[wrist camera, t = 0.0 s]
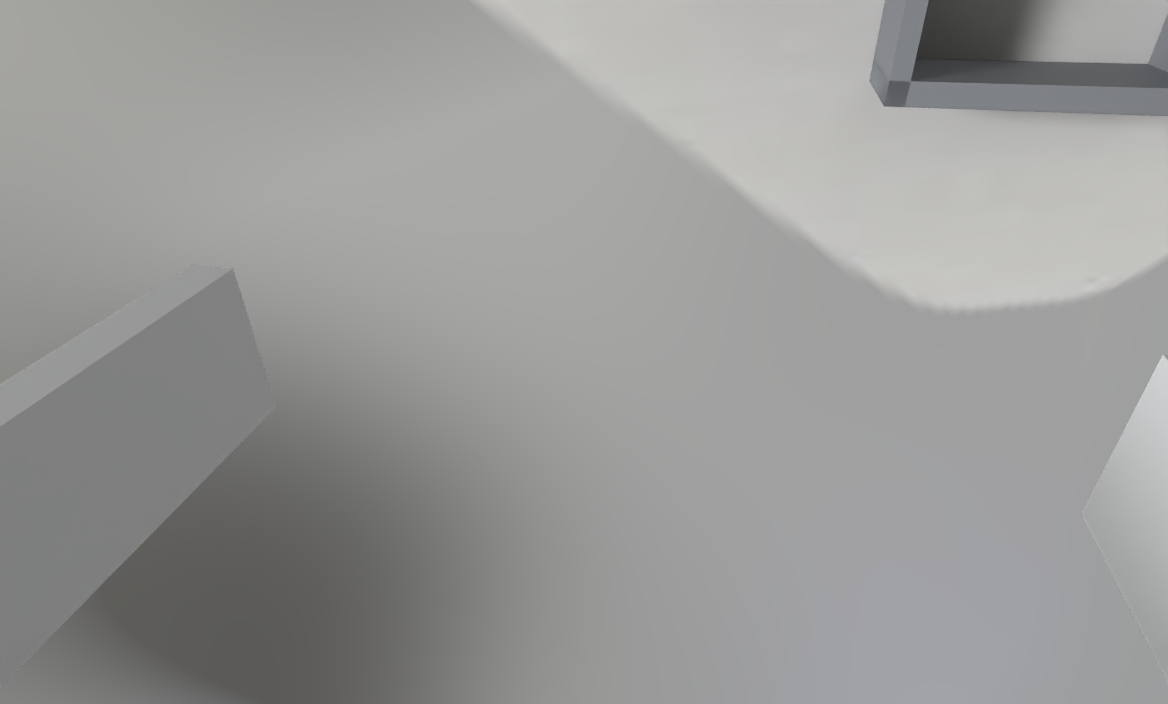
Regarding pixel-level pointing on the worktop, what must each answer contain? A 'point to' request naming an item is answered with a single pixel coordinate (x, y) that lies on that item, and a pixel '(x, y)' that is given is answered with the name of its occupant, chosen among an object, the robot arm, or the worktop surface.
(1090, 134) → the worktop surface
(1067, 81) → the pitch
